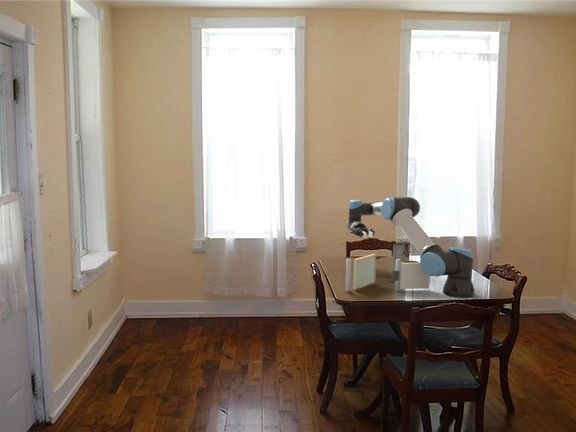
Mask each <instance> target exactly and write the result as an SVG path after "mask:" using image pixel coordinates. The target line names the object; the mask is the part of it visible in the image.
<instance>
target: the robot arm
mask: <svg viewBox="0 0 576 432" xmlns="http://www.w3.org/2000/svg"><path fill="white" fill-rule="evenodd" d="M420 210H421V205H420V203H419V201H418V200H417V199H416V198H414V197H411V196H404V197H403V196H399V197H393V196H392V197H386V198H385V199H384V200H383V201H382V202H363V201H362V200H360V199H351V200H349V203H348V221H347V224H346V226H347V227H346V228H347V229H348V231H349V232H350V234H353V235H355V236H357V237H359V238H365V239H367V236H368V237H370V238H371V239H374V236H375V235H376V234H375V232H376V231H375V230H374V229H373V228H367V226H366V224H364V223H362V217H365V216H381V217H382V218H383V219H384V220H386V221H389V220H390V221H391V222H392V224H393V225H394V226H396V227H398V228H400V230H401V231H402V232H403V234H404V235H405V236H406V238H407V239H408V241H410V244H412V245H413V246H414V248H415V249H416V250H417V252H418V253H419V254H420V256H419V259H420V260H419V263H420V264H421V268H422V270H423V272H424V273H425V274H427V275H428V276H429V277H443V276H447V277H446V280H445V282H444V285H443V287H442V293H443V294H444V295H446V296H448V297H454V298H459V299H460V298H461V299H463V298H473V297H475V293H476V292H475V287H474V283H473V280H472V279H473V265H474V264H473V263H474V252H473V251H472V250H471V249H468V248H463V247H456V246H449V247H448V250H444V249H443V247H442V246H441V245H440V244H437V243H435V242H433V240H432V239H431V238H430V237H429V235H428V234H427V233H426V231H425V230H424V229H423V228H422V227H421V226H420V224H419V223H418V222H417V221H416V219H415V217H416V216H418V215H419V213H420ZM472 296H473V297H472Z"/></svg>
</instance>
